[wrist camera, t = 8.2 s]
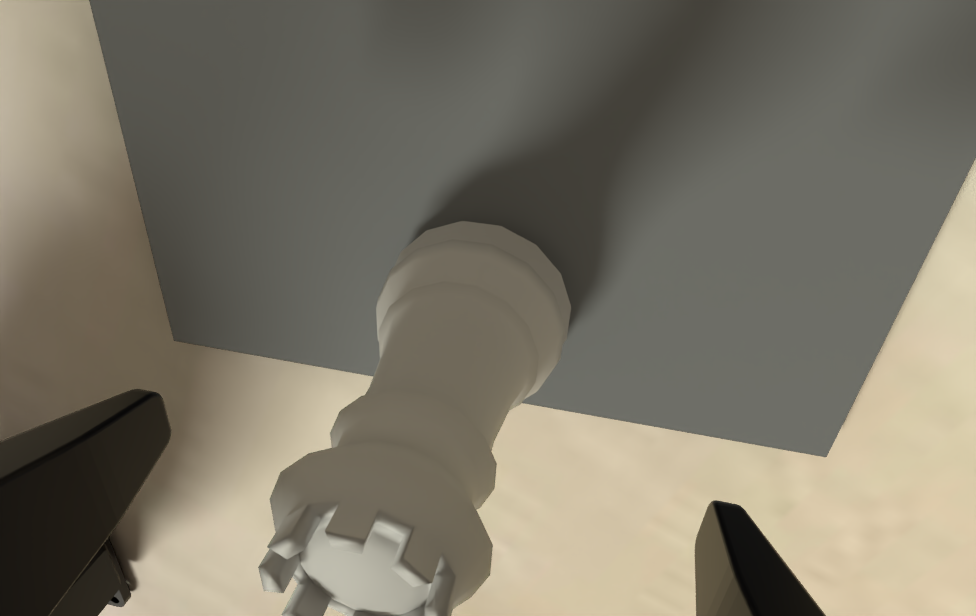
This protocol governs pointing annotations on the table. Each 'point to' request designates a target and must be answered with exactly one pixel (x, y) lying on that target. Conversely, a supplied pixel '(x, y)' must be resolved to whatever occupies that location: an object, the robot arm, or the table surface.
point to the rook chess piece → (421, 432)
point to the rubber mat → (560, 180)
